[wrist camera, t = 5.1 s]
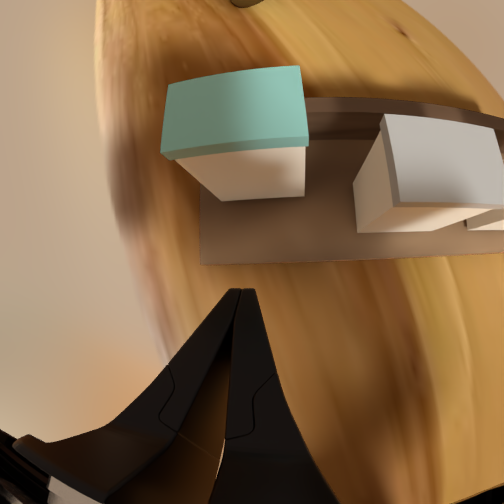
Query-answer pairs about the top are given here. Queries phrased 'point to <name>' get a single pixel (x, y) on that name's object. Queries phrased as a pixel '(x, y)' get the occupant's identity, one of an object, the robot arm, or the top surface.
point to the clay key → (487, 220)
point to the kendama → (245, 2)
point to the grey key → (427, 175)
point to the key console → (335, 198)
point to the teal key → (240, 132)
